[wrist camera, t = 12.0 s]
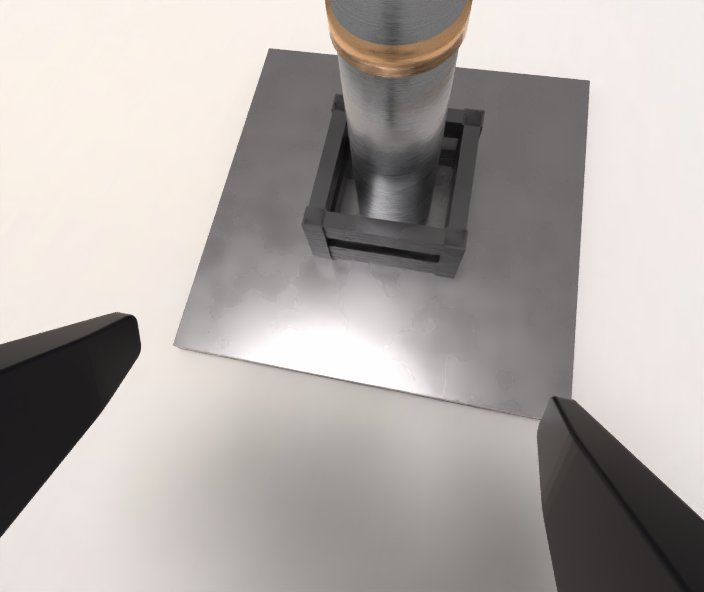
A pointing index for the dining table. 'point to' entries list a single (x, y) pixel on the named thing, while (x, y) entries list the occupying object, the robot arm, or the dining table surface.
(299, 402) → the dining table surface
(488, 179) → the collar stand
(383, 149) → the grey metal cylinder
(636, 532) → the robot arm
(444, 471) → the dining table surface
